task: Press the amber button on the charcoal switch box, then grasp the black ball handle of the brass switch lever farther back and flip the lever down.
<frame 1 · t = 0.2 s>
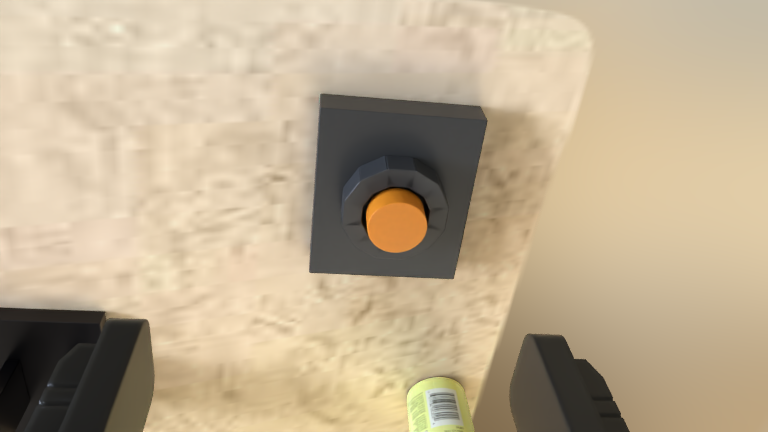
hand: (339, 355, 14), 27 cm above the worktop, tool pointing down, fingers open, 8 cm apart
button: (396, 220, 39), point 4 cm above the worktop, slide at 0.1 cm
tube: (432, 394, 54), on the worktop
switchbox: (390, 184, 43), on the worktop
bracket: (52, 369, 49), on the worktop
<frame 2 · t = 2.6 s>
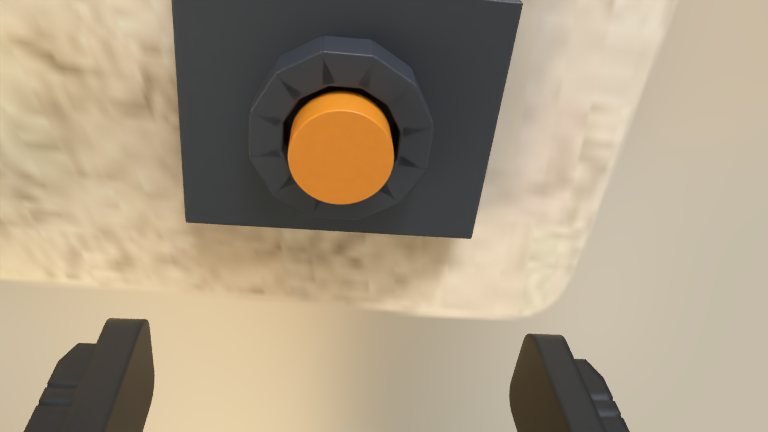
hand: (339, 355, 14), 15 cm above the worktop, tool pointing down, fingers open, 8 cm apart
button: (341, 148, 22), point 4 cm above the worktop, slide at 0.1 cm
switchbox: (340, 99, 26), on the worktop
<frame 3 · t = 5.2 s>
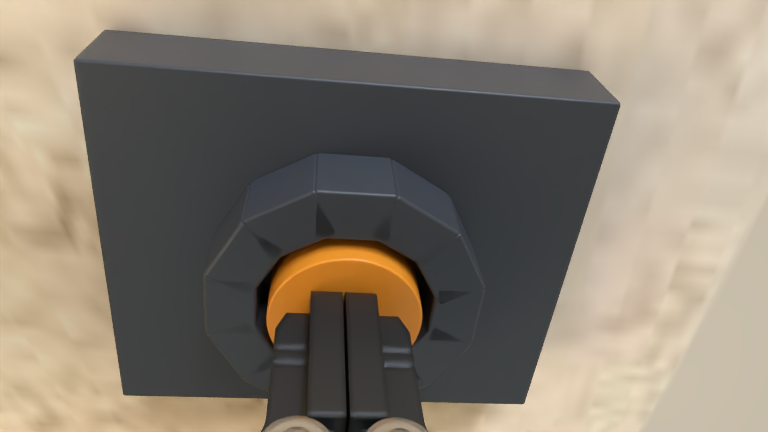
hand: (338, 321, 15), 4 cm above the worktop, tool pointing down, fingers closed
button: (344, 298, 16), point 3 cm above the worktop, slide at -0.9 cm, touching gripper
switchbox: (342, 220, 18), on the worktop
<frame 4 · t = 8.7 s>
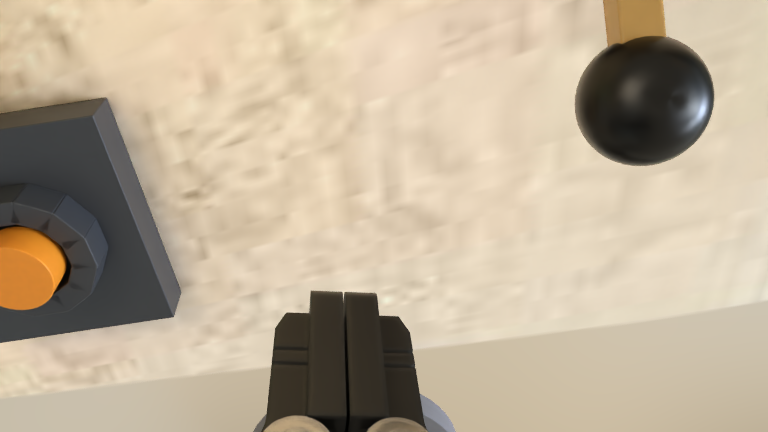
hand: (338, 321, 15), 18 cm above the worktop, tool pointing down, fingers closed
button: (19, 268, 30), point 4 cm above the worktop, slide at 0.1 cm
switchbox: (54, 217, 34), on the worktop
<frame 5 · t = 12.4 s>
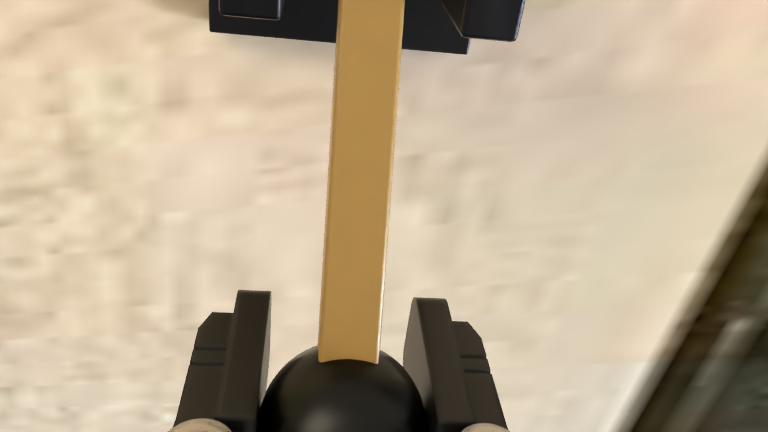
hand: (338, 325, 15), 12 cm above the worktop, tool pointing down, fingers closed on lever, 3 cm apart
lever: (359, 169, 12), point 13 cm above the worktop, hinge at 25.0°, touching gripper
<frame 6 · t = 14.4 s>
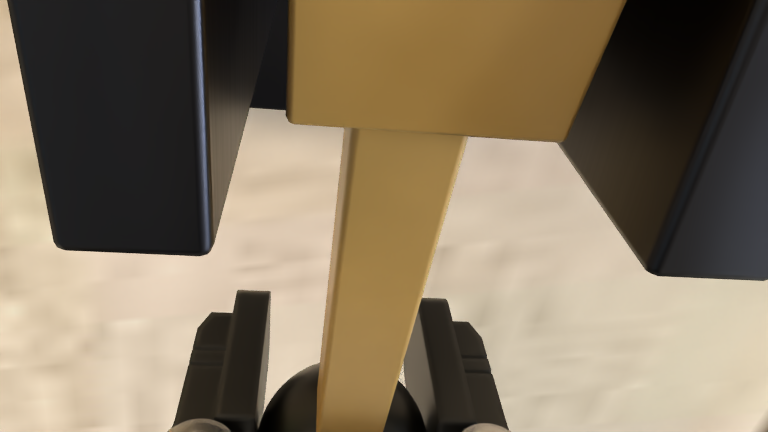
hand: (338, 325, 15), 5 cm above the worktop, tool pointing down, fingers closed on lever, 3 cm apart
lever: (371, 292, 8), point 10 cm above the worktop, hinge at -15.4°, touching gripper
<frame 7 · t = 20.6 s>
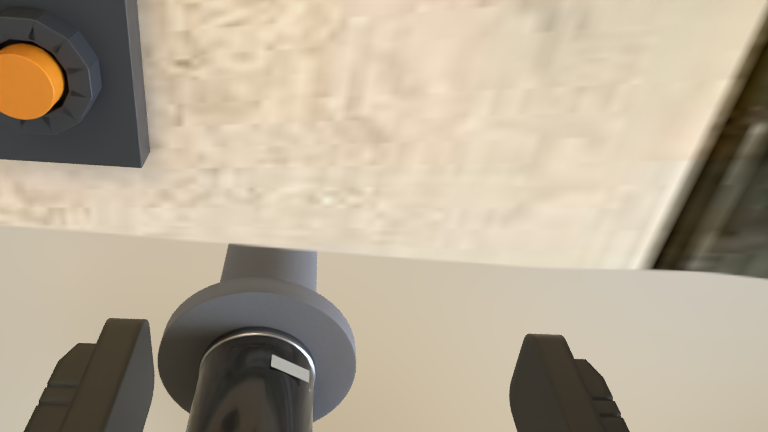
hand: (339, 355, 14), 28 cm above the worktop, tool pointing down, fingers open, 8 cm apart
button: (23, 81, 34), point 4 cm above the worktop, slide at 0.1 cm
switchbox: (53, 54, 38), on the worktop
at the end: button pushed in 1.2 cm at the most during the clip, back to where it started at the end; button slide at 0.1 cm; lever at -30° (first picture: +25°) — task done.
